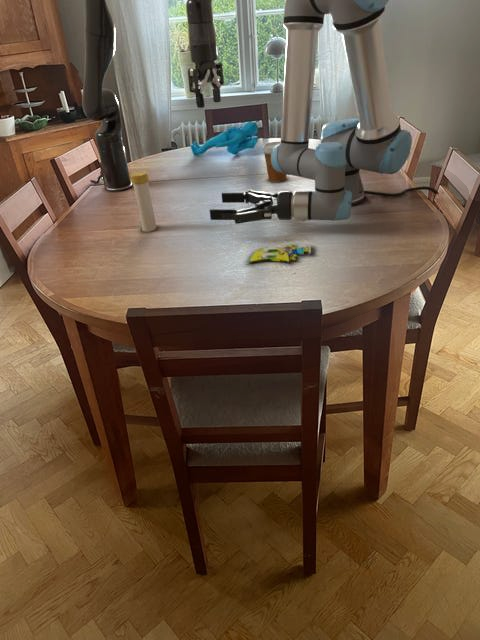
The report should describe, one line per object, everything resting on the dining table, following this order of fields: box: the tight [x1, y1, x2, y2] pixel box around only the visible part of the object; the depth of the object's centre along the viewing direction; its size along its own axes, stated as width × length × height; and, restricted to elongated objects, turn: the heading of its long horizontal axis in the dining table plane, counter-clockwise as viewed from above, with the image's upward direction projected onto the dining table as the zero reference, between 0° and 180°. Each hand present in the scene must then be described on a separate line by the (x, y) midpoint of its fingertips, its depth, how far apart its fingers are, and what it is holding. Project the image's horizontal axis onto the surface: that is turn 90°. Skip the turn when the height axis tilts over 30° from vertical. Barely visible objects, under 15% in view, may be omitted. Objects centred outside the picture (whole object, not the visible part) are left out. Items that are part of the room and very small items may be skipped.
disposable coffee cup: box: [262, 141, 288, 183], centre depth 169 cm, size 10×10×12 cm
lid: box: [129, 170, 150, 184], centre depth 134 cm, size 5×5×2 cm
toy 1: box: [190, 121, 260, 157], centre depth 206 cm, size 17×11×30 cm
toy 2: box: [248, 244, 312, 265], centre depth 120 cm, size 10×1×15 cm
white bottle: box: [132, 181, 157, 233], centre depth 138 cm, size 4×4×16 cm
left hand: (209, 104), depth 142 cm, fingers open, 8 cm apart
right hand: (216, 205), depth 133 cm, fingers open, 13 cm apart
